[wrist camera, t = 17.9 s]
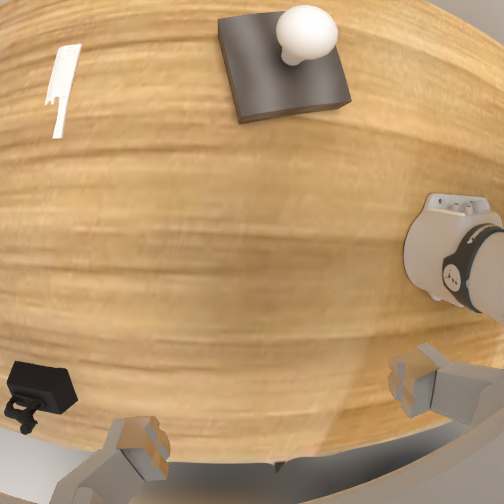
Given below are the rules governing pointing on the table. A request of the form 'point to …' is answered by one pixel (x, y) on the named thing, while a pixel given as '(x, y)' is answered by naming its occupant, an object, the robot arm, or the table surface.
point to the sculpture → (38, 392)
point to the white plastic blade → (63, 83)
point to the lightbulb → (305, 34)
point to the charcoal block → (276, 72)
